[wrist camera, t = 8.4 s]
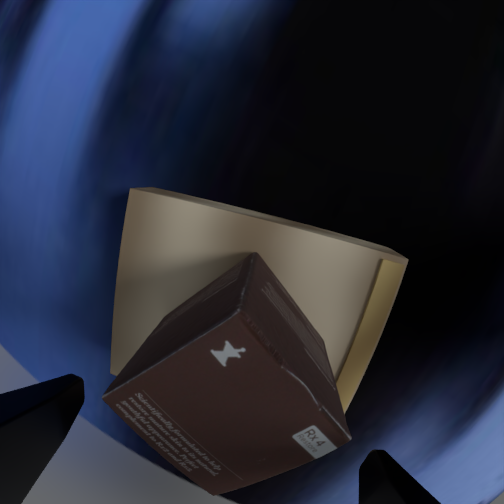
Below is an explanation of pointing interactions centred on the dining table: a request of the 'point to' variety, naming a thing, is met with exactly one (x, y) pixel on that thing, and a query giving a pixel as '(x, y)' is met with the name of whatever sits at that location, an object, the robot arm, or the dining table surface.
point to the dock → (236, 249)
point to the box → (233, 384)
